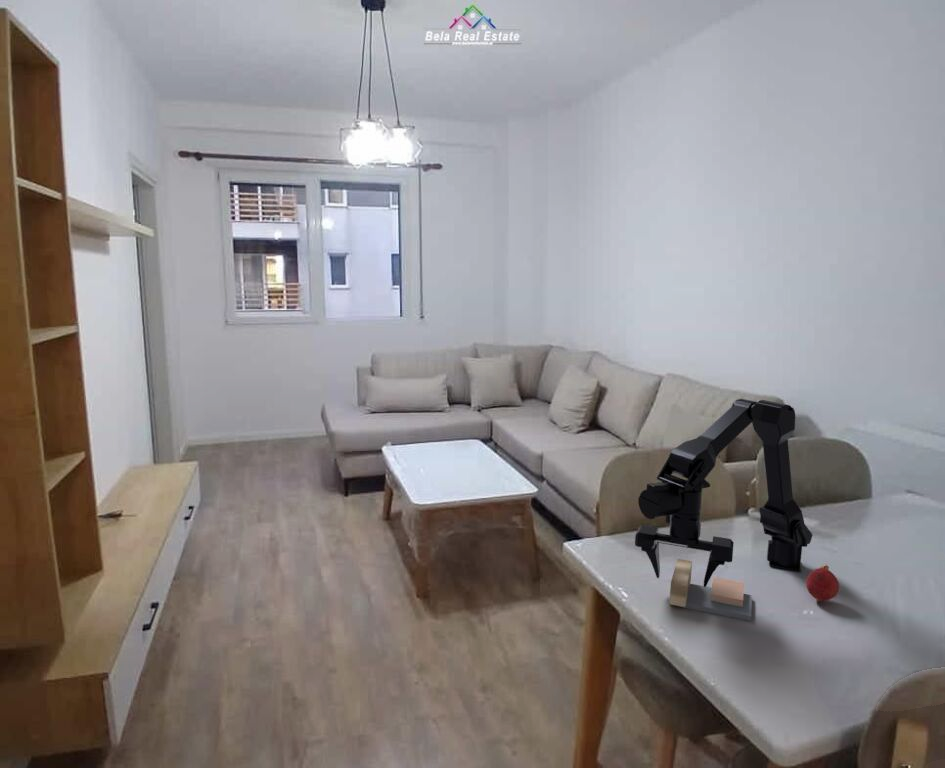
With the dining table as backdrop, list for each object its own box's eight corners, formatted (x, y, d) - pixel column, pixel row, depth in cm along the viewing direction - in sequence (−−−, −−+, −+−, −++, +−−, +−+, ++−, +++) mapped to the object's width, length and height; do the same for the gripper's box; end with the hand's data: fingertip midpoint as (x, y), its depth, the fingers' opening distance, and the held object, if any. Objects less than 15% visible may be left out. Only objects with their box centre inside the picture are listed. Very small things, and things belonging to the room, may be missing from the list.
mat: (751, 599, 129) (751, 595, 129) (750, 621, 121) (751, 616, 121) (675, 585, 135) (675, 580, 135) (670, 604, 127) (670, 600, 127)
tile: (744, 582, 131) (743, 600, 123) (743, 589, 131) (742, 608, 124) (713, 577, 133) (710, 594, 126) (712, 584, 133) (710, 601, 126)
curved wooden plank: (685, 607, 124) (686, 586, 123) (669, 603, 125) (670, 582, 124) (690, 580, 135) (692, 561, 134) (676, 578, 136) (677, 558, 135)
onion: (825, 611, 124) (829, 574, 123) (798, 598, 129) (802, 562, 128) (843, 604, 127) (847, 567, 126) (816, 592, 132) (820, 556, 131)
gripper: (736, 503, 131) (731, 573, 133) (644, 491, 138) (641, 557, 141) (735, 522, 120) (729, 597, 123) (636, 507, 128) (632, 579, 131)
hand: (681, 581), depth 130 cm, fingers open, 9 cm apart
